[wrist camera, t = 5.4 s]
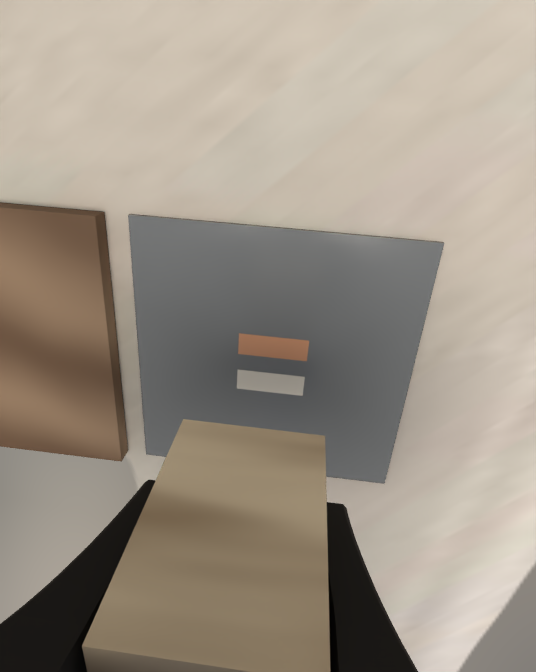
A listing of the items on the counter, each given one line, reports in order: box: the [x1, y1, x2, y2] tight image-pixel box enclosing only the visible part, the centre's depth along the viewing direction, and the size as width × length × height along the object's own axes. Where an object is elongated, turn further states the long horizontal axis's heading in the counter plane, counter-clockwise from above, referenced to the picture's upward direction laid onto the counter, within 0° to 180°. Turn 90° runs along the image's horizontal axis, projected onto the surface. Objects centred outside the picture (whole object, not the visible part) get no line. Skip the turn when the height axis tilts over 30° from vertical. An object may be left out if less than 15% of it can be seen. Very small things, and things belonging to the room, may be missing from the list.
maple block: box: [82, 419, 330, 672], centre depth 11 cm, size 4×4×6 cm
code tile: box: [128, 214, 444, 483], centre depth 19 cm, size 12×12×1 cm
